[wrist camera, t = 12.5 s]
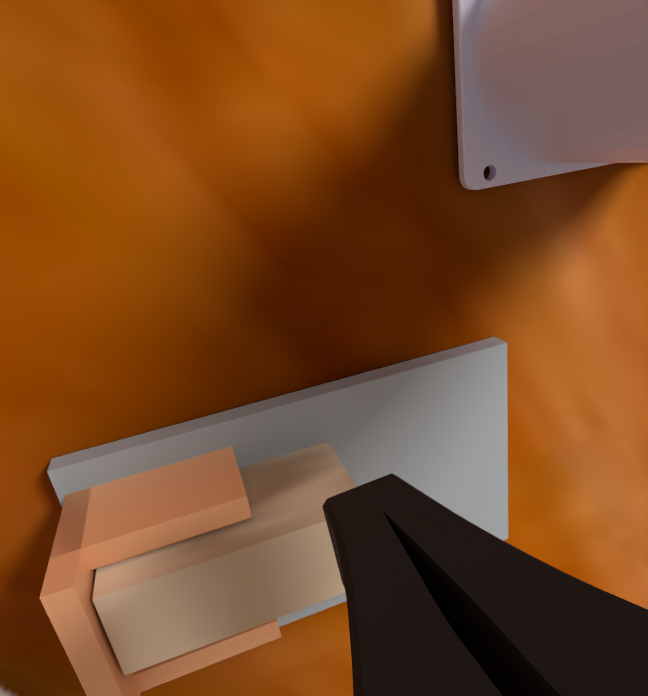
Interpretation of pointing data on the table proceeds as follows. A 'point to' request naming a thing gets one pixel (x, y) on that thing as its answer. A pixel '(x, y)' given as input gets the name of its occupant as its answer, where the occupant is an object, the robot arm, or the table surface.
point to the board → (353, 435)
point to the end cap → (130, 540)
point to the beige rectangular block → (229, 566)
